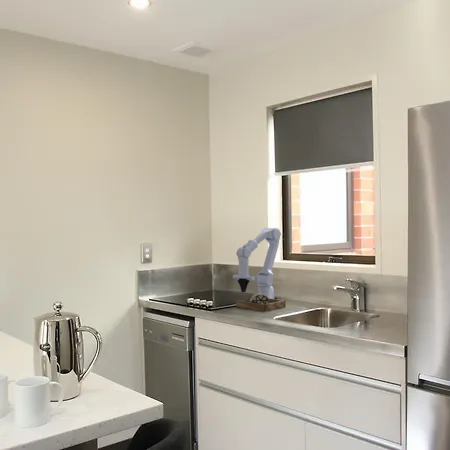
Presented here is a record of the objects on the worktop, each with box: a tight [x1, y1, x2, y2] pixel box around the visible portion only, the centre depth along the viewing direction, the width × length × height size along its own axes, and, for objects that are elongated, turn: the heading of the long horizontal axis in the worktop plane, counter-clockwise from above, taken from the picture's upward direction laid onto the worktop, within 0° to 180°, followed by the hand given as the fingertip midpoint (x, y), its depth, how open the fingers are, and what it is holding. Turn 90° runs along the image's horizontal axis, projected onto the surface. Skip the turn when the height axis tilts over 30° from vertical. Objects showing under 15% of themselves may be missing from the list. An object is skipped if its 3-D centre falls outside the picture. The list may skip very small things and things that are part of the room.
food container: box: [246, 293, 270, 304], centre depth 290 cm, size 12×6×10 cm
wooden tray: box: [235, 298, 287, 312], centre depth 291 cm, size 18×21×4 cm
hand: (243, 292), depth 300 cm, fingers closed
